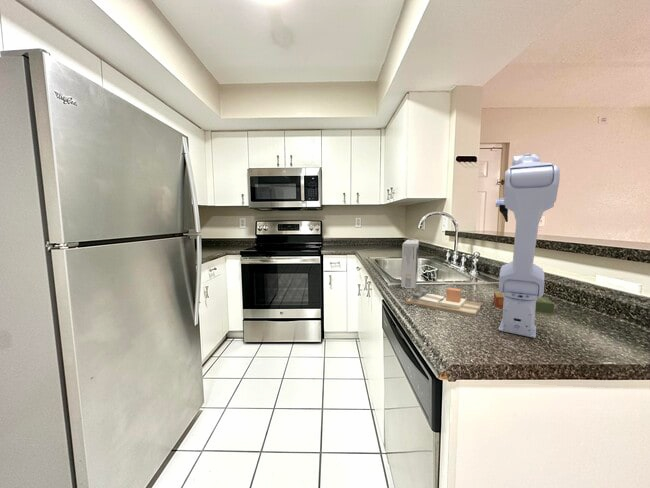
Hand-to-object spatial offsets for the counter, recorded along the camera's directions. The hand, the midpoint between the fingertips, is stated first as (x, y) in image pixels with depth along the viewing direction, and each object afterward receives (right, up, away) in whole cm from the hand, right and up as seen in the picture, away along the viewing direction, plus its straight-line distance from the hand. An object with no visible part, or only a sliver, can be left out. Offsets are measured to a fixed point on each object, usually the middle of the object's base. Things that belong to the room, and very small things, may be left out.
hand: (519, 219), depth 97 cm
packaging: (-27, -27, +38) cm, 54 cm away
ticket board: (-27, -30, 0) cm, 40 cm away
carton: (-1, -31, -2) cm, 31 cm away
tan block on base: (-24, -29, -2) cm, 38 cm away
